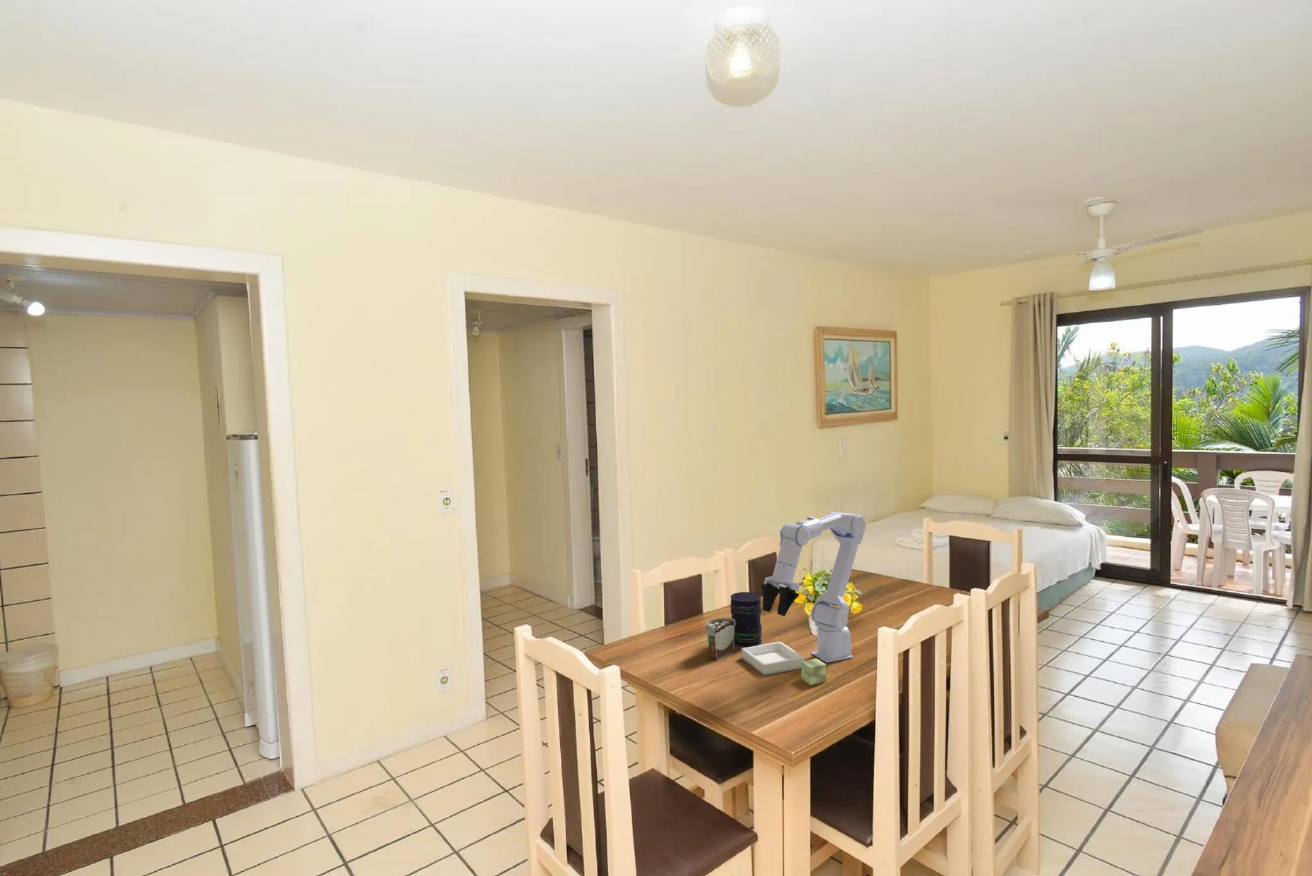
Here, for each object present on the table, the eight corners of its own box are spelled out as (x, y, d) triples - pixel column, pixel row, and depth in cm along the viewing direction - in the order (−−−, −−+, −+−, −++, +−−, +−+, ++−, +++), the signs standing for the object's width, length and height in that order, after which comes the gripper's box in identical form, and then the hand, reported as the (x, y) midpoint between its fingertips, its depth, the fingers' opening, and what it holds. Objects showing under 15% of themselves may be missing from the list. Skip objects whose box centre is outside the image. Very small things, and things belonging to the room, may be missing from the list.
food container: (719, 645, 207) (719, 614, 207) (736, 649, 203) (735, 618, 203) (697, 658, 198) (696, 625, 197) (714, 662, 194) (713, 629, 193)
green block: (816, 675, 183) (816, 658, 183) (826, 682, 179) (825, 664, 179) (801, 678, 181) (801, 661, 181) (810, 685, 177) (810, 667, 177)
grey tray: (780, 651, 201) (780, 641, 201) (805, 667, 189) (805, 657, 189) (741, 658, 197) (741, 648, 196) (764, 675, 184) (764, 665, 184)
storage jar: (761, 636, 214) (760, 592, 213) (763, 647, 204) (762, 601, 204) (730, 636, 215) (729, 591, 214) (731, 647, 205) (730, 601, 205)
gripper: (761, 559, 187) (748, 605, 184) (789, 562, 174) (775, 612, 171) (781, 566, 189) (768, 612, 186) (810, 570, 176) (797, 620, 173)
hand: (773, 613), depth 179 cm, fingers open, 7 cm apart
